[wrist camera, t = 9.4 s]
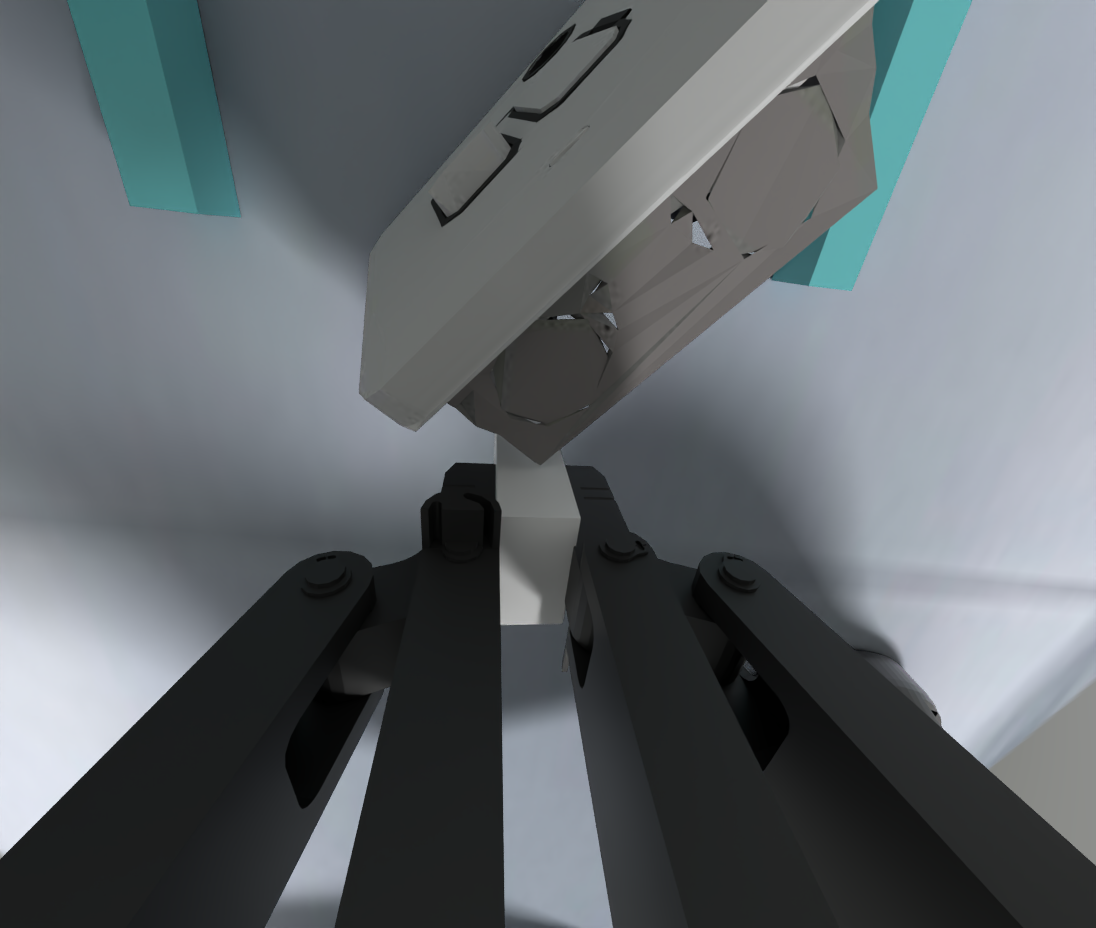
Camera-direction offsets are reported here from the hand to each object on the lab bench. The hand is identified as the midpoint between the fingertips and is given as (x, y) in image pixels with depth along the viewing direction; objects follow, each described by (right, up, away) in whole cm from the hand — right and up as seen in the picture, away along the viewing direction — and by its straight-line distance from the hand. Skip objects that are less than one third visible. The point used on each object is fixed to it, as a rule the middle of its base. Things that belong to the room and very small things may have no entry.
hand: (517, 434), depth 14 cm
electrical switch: (+1, +7, -1) cm, 7 cm away
